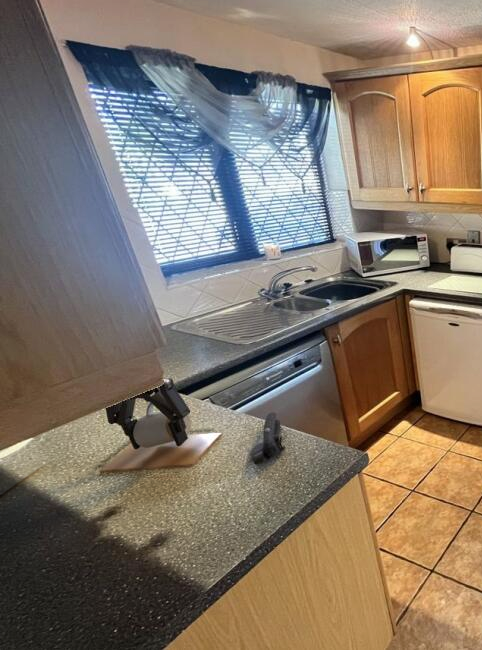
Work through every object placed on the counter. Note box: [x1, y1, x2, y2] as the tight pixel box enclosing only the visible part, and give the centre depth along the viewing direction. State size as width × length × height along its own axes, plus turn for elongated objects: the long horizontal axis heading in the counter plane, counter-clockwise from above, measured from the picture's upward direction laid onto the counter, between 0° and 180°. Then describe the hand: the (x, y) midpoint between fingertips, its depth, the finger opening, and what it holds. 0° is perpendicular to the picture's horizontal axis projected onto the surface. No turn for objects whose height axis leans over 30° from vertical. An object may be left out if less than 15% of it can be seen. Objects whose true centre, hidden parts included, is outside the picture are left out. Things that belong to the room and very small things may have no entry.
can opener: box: [251, 412, 286, 465], centre depth 94 cm, size 18×7×6 cm, turn 26°
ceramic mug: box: [133, 402, 192, 448], centre depth 92 cm, size 11×8×8 cm
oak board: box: [98, 432, 223, 473], centre depth 92 cm, size 20×11×1 cm, turn 95°
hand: (161, 443), depth 92 cm, fingers closed on ceramic mug, 9 cm apart
